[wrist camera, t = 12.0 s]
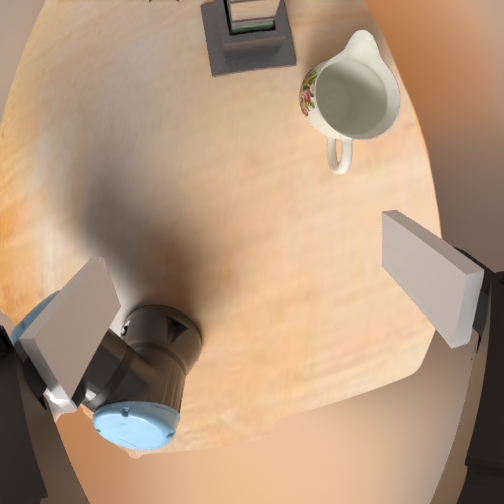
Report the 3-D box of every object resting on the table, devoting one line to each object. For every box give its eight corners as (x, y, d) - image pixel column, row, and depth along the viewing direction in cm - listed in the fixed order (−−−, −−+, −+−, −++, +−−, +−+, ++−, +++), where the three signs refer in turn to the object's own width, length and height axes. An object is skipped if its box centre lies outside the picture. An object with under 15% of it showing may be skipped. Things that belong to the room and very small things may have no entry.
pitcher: (287, 163, 47) (305, 177, 34) (295, 47, 40) (316, 19, 27) (357, 170, 47) (395, 187, 34) (366, 59, 40) (407, 41, 28)
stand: (212, 77, 41) (205, 65, 33) (201, 7, 37) (192, -17, 28) (295, 65, 41) (307, 52, 32) (281, -4, 36) (290, -29, 28)
